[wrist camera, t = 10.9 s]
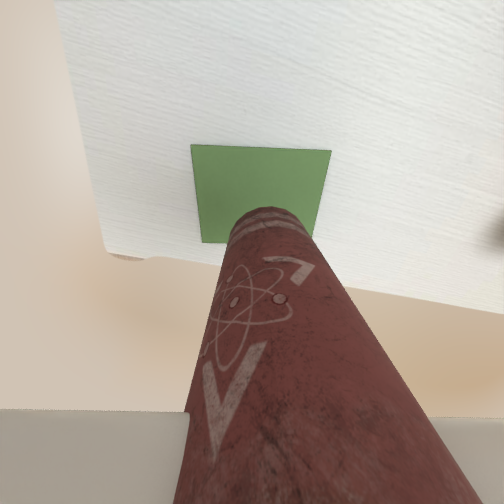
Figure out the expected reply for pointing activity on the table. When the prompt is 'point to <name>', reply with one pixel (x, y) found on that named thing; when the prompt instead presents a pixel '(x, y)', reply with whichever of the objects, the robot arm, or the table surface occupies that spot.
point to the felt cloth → (255, 184)
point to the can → (302, 390)
